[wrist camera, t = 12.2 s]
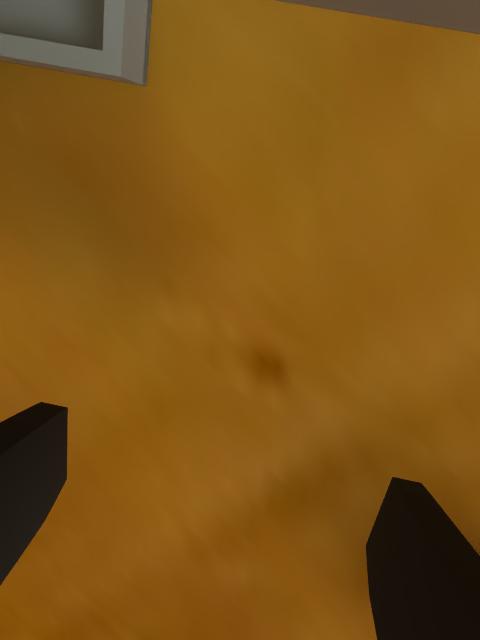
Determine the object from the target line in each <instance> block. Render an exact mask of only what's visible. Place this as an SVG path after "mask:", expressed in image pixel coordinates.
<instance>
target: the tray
mask: <svg viewBox="0 0 480 640" xmlns="http://www.w3.org/2000/svg"><path fill="white" fill-rule="evenodd" d="M151 9H152V0H0V61H6V62H11V63H17V64H23V65H29V66H34V67H40V68H46V69H51V70H57V71H63V72H68V73H74V74H80V75H85V76H91V77H97V78H102V79H108V80H114V81H119V82H125V83H131V84H136V85H142V86H146V79H147V65H148V51H149V37H150V23H151Z"/></svg>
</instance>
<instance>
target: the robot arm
mask: <svg viewBox="0 0 480 640" xmlns="http://www.w3.org/2000/svg"><path fill="white" fill-rule="evenodd" d="M67 414H68V408H67V407H62V406H58V405H53V404H48V403H44V402H40V403H38V404H36V405H34V406H32V407H30V408H28V409H26V410H24V411H22V412H20V413H18V414H16V415H14V416H12V417H10V418H8V419H6V420H4V421H2V422H1V423H0V585H1V584H2V582H3V581H4V579H5V578H6V577H7V575H8V574H9V572H10V571H11V569H12V568H13V567H14V565H15V564H16V562H17V561H18V559H19V558H20V556H21V555H22V554H23V552H24V551H25V549H26V548H27V546H28V545H29V543H30V542H31V540H32V539H33V537H34V536H35V535H36V533H37V532H38V530H39V529H40V527H41V526H42V524H43V523H44V521H45V519H46V517H47V516H48V514H49V512H50V510H51V508H52V506H53V505H54V503H55V501H56V499H57V497H58V495H59V493H60V491H61V489H62V487H63V485H64V483H65V481H66V479H67ZM366 554H367V571H368V584H369V596H370V601H371V607H372V613H373V618H374V624H375V629H376V635H377V640H480V556H479V555H478V553H477V552H476V551H475V550H474V548H473V547H472V546H471V545H470V543H469V542H468V541H467V540H466V538H465V537H464V536H463V535H462V533H461V532H460V531H459V530H458V528H457V527H456V526H455V525H454V523H453V522H452V521H451V519H450V518H449V517H448V516H447V514H446V513H445V512H444V511H443V509H442V508H441V507H440V505H439V504H438V503H437V502H436V500H435V499H434V498H433V497H432V495H431V494H430V493H429V492H428V491H427V489H426V488H425V487H424V486H423V485H422V483H419V482H414V481H409V480H404V479H400V478H395V477H392V480H391V482H390V485H389V487H388V490H387V492H386V495H385V498H384V500H383V503H382V505H381V508H380V510H379V513H378V516H377V518H376V521H375V523H374V526H373V528H372V531H371V534H370V536H369V539H368V541H367V544H366Z"/></svg>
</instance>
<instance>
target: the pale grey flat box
mask: <svg viewBox="0 0 480 640" xmlns="http://www.w3.org/2000/svg"><path fill="white" fill-rule="evenodd" d="M277 1H283V2H289V3H295V4H301V5H307V6H313V7H319V8H326V9H332V10H338V11H344V12H350V13H356V14H362V15H368V16H374V17H380V18H386V19H392V20H398V21H405V22H411V23H417V24H423V25H429V26H435V27H441V28H447V29H453V30H459V31H465V32H471V33H477V34H480V0H277Z"/></svg>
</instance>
